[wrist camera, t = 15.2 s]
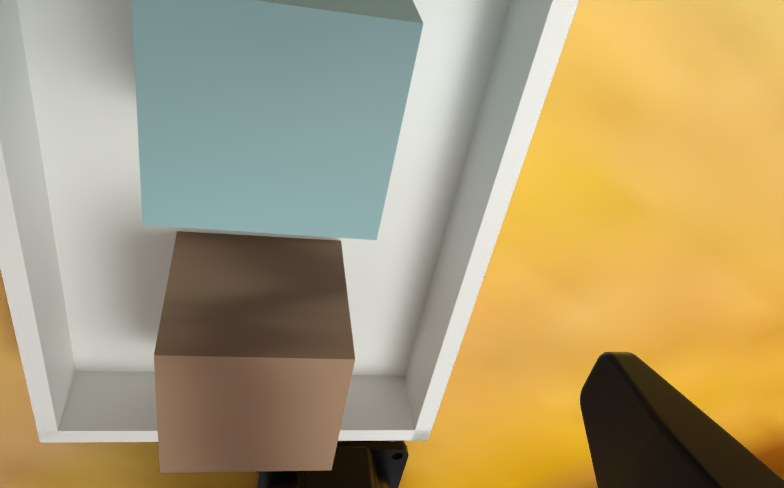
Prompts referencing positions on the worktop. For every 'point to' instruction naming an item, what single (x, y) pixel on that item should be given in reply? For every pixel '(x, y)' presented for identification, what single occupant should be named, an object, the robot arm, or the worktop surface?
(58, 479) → the worktop surface
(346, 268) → the tray
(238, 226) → the teal block
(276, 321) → the walnut block
